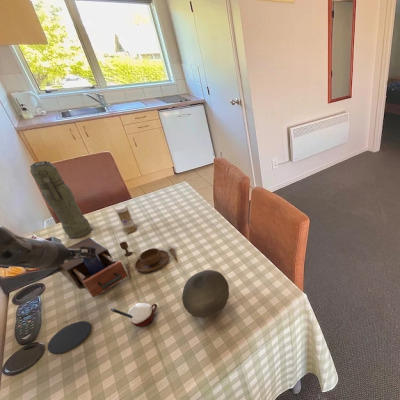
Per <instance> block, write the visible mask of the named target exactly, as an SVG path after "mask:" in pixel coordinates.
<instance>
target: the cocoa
mask: <svg viewBox="0 0 400 400" xmlns="http://www.w3.org/2000/svg"><path fill="white" fill-rule="evenodd" d="M157 308H158V305H157V304H156V303H153V304H151V305H150V304H149V303H147V302H138V303H136V304H134V305H133V306H132V307H131V308H129V309H128V311H127V312H124V311H122V310H119V309H116V308H113V307H111V308H110V311H112V312H113V313H116V314H118V315H121V316H124V317H127V319H128V321H129V322H130V323H131V324H132V325H133V326H135V327H137V328H145V327H147V326H148V325H150V324H151V323H152V321H153V320H154V318H155V313H156V310H157Z"/></svg>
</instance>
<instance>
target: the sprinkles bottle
mask: <svg viewBox="0 0 400 400" xmlns="http://www.w3.org/2000/svg"><path fill="white" fill-rule="evenodd" d="M114 211H115V213H116V214H117V217H118V219H119V221H120V223H121V225H122V227H123V229H124V231H125V232H127V234H133V233H135V232H137V227H136V224H135V221H134V220H133V217H132V215H131V213H130V211H129V207H128V205H127V204H119V205H117V206H116V207H114Z"/></svg>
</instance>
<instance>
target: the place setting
mask: <svg viewBox="0 0 400 400" xmlns="http://www.w3.org/2000/svg"><path fill="white" fill-rule="evenodd" d="M119 247H120V248H121V250H122V251H123V250H124V251H125V253H124V257H130V256H132V255H133V252H132V251H129V245H128V243H127V241H122V242H120V243H119ZM168 251H169V252H168ZM168 251H166V250H163V249H158V248H157V247H156V248H155V247H153V248H148V249H145V250H144V251H142V252H141V253H140V255H139V257H138V259H136V261H135V262H134V268H135V270H136V271H138V272H140V273H151V272H152V273H153V272H155V271H157V270H159V269H161V268H163V267H164V266H165V265H166V264H167V263H168V262H169V259H170V254H172V256H173V259H174V260H175V261H176V262H177V261H178V257H177V256H176V255H175V249H174V248H170V249H169V250H168ZM169 253H170V254H169ZM124 268H125V270H127V274H128V277H129V279H132V275H131V271H130V268H131V265H130V263H129V262H127V263H126V264H124Z"/></svg>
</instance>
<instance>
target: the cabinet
mask: <svg viewBox="0 0 400 400" xmlns="http://www.w3.org/2000/svg"><path fill="white" fill-rule="evenodd" d="M82 246H84V247H93V248H95V249H96V253H97V255H98V256H99V255H101V254H103V253H105V254H106V255H108V256H109V257H111V258H112V259H113V257H112V255H111V253H110V252H109V249H108V248H107V247H104V246H103V245H102V244H100V243H99V242H97V241H96V240H94V239H93V238H91V237H90V236H89V237H86V238H84V239H82V240H80V241H77V242H76V243H73V244H71V245H69V246H68V247H67V246H66V248H70V249H77V248H80V247H82ZM74 258H77V254H76V256H75V257H74ZM82 264H84V262H83V261H82V259H80V260H75V261H68V262H64V264H63V265H60V266H58V267H57V269H58V270H59V272H61V274H62V275H63V276H64V277H65V278H67V280H69V281H70V282H71V283H72V284H73V285H75V287H76V288H77V289H79V290H80V289H81V288H83V287H85V286H84V285H83V284H81V283H80V282H79V281H78V280H77V278H76V277H75V275H74V274H73V272H72V271H71V270H73V269H75V268H76V267H78V266H80V265H82Z"/></svg>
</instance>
